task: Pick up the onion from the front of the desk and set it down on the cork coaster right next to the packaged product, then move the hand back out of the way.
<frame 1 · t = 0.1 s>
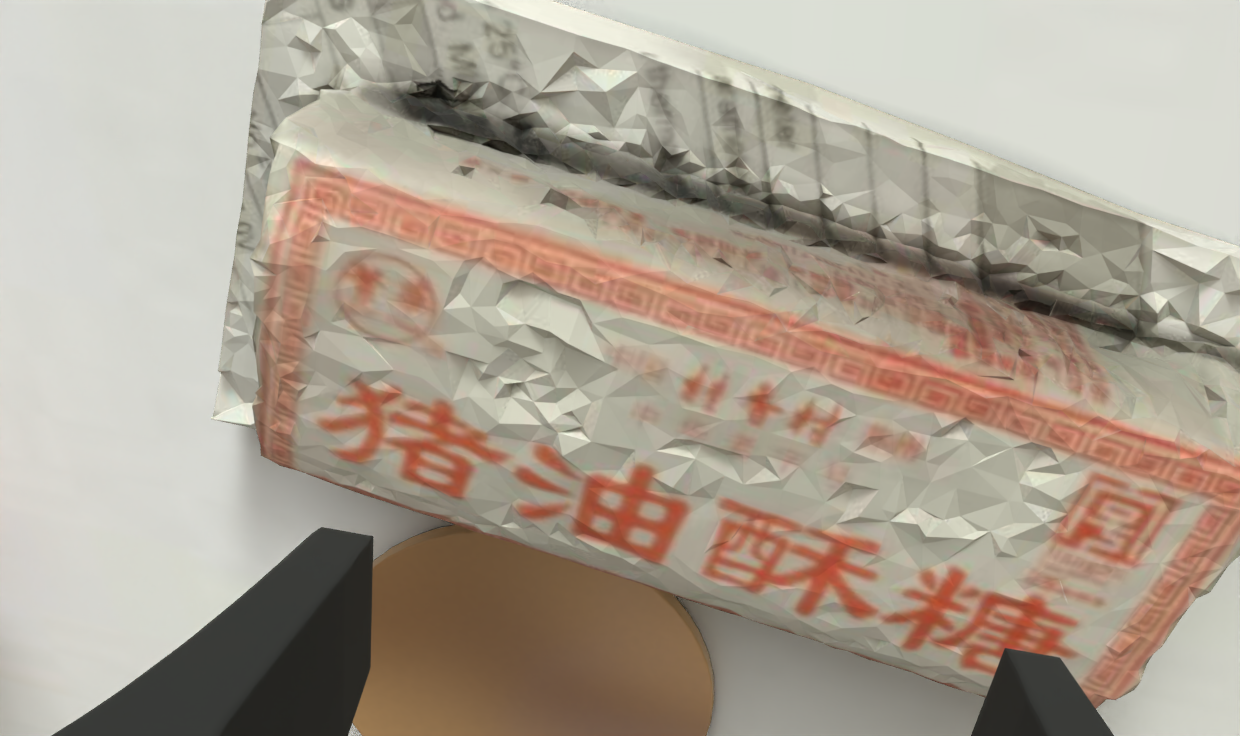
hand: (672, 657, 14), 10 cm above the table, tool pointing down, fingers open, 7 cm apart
coaster: (522, 675, 28), on the table
packaged product: (717, 318, 23), on the table
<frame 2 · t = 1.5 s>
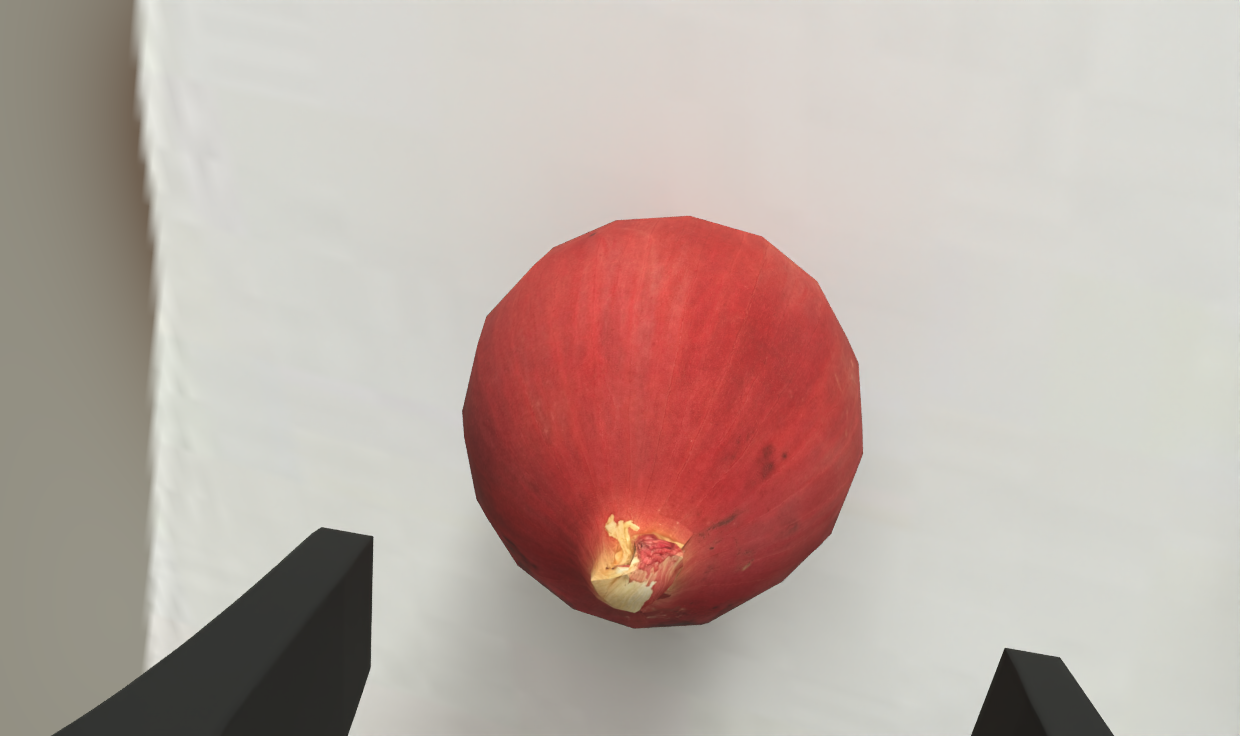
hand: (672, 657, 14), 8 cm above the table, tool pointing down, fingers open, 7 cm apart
onion: (683, 300, 21), on the table
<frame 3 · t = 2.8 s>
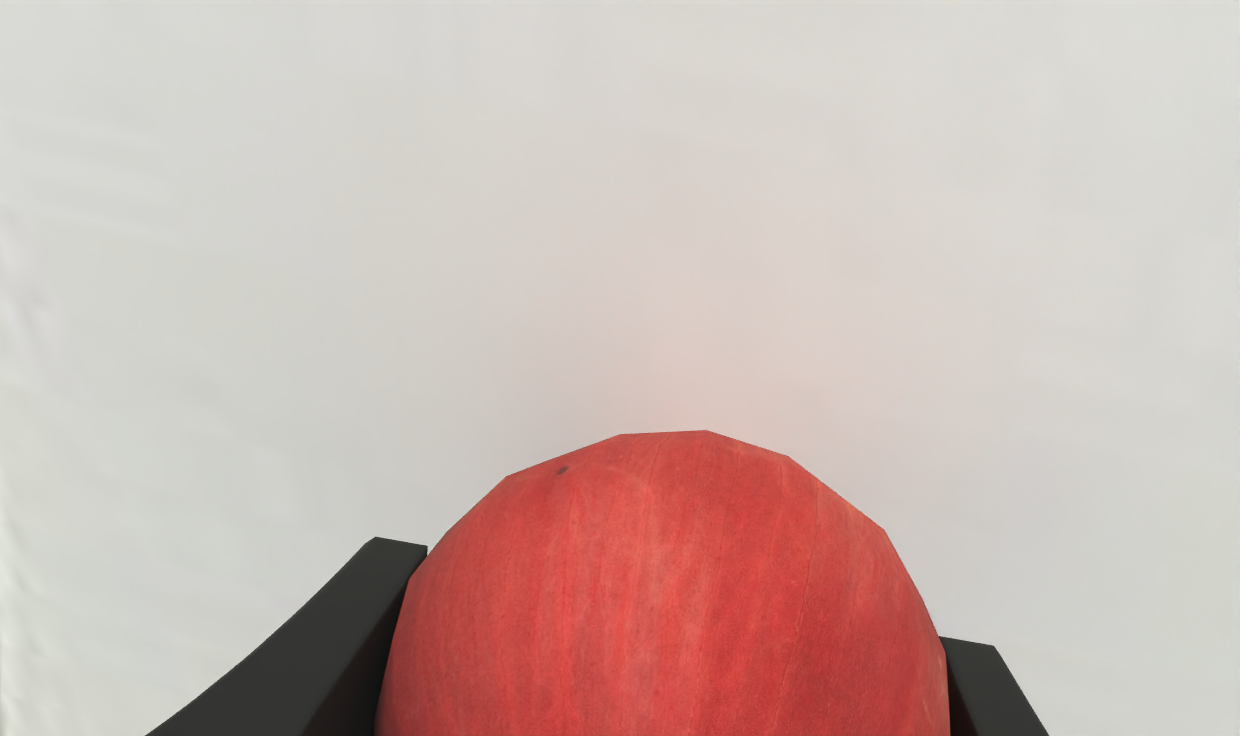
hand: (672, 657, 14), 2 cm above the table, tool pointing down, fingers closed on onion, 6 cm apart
onion: (684, 494, 16), on the table, touching gripper
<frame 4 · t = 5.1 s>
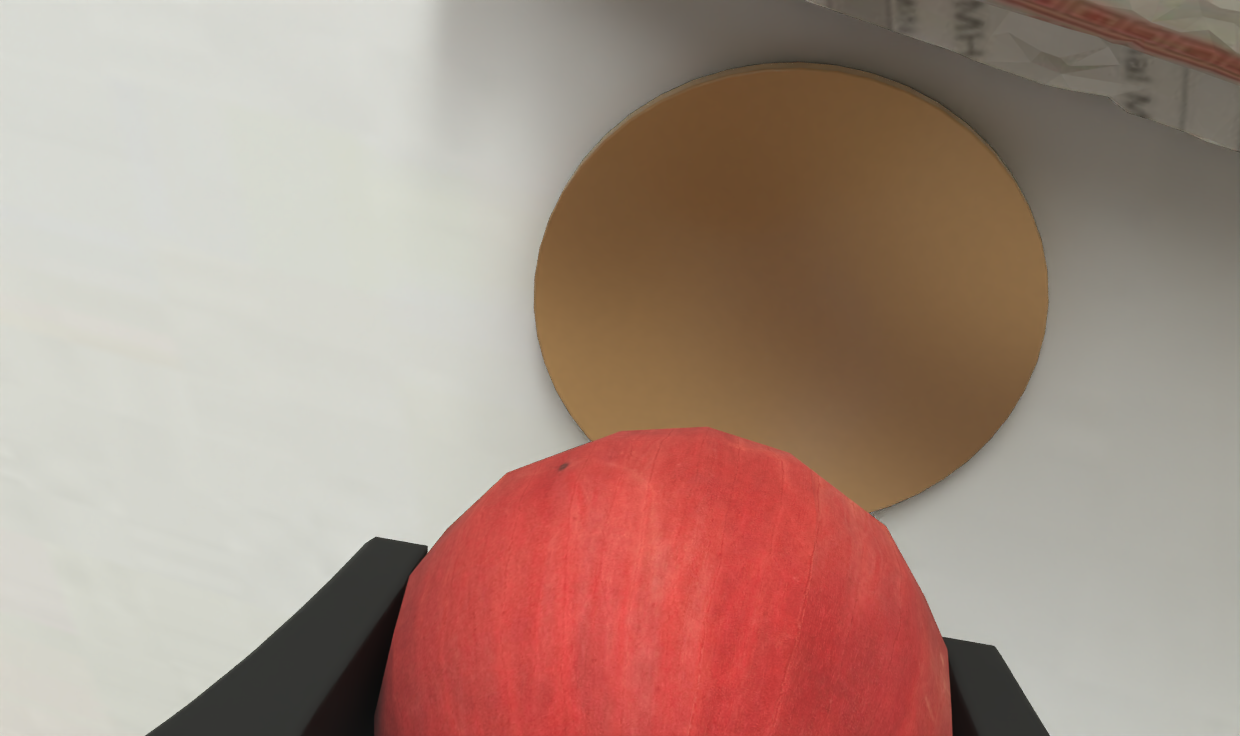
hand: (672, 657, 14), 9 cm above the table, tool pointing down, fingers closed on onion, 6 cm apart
coaster: (783, 310, 21), on the table
onion: (685, 492, 16), point 7 cm above the table, touching gripper
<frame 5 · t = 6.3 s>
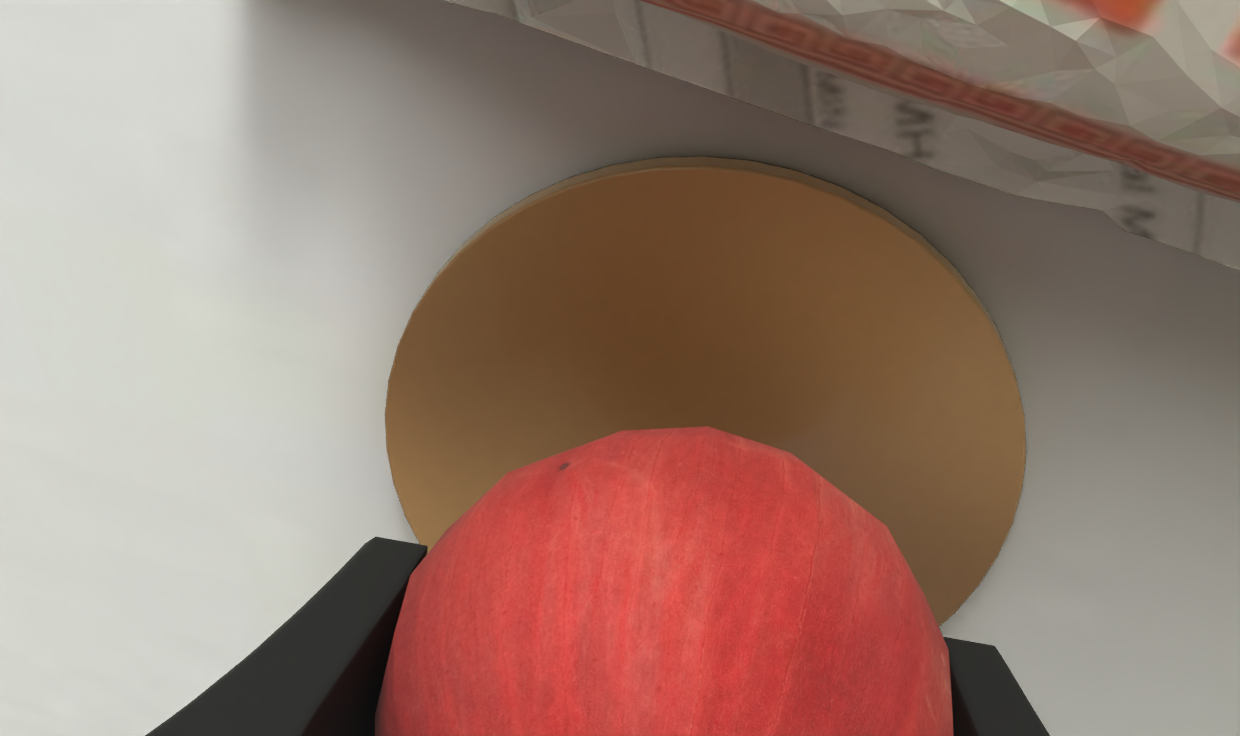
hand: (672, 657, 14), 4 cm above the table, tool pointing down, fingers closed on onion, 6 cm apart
coaster: (696, 454, 17), on the table
onion: (685, 492, 16), point 2 cm above the table, touching gripper
when the fingers open (3 cm above the table, at t = 7.3 s): onion stays where it is, resting on coaster.
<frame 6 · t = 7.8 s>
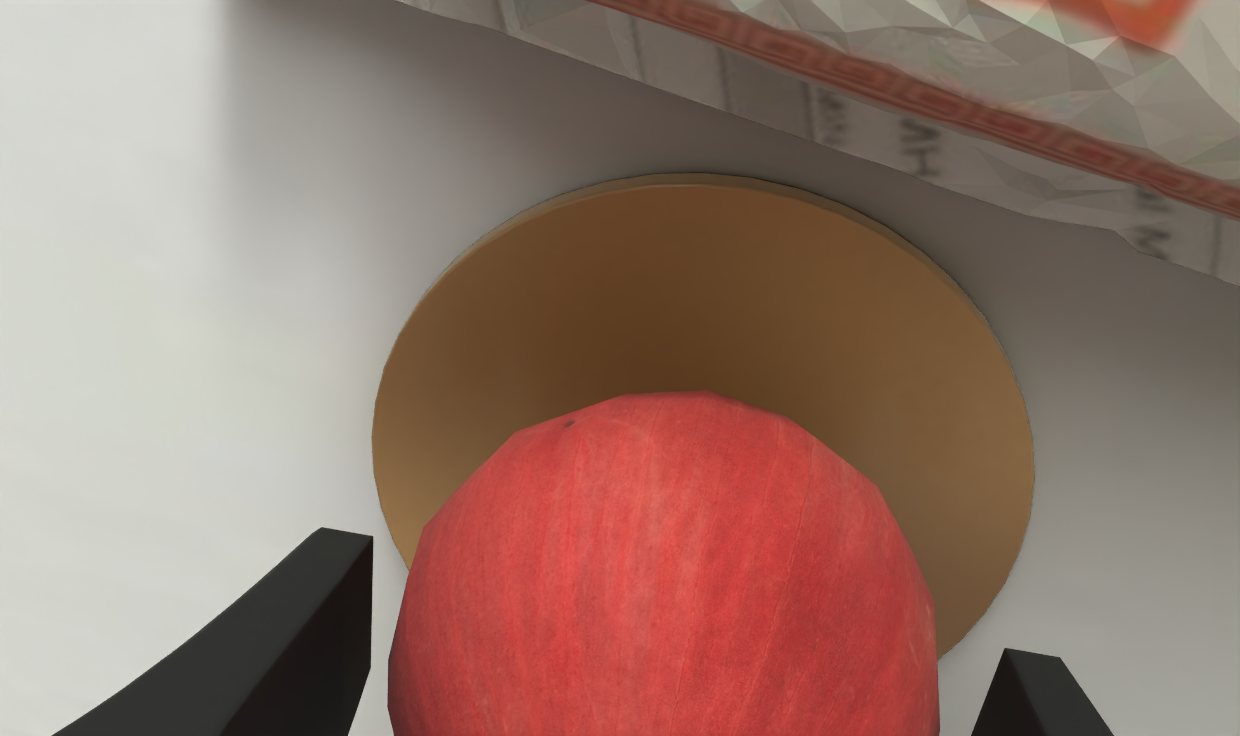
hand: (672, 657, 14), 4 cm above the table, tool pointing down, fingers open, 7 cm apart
coaster: (693, 478, 17), on the table
onion: (689, 461, 16), resting on coaster
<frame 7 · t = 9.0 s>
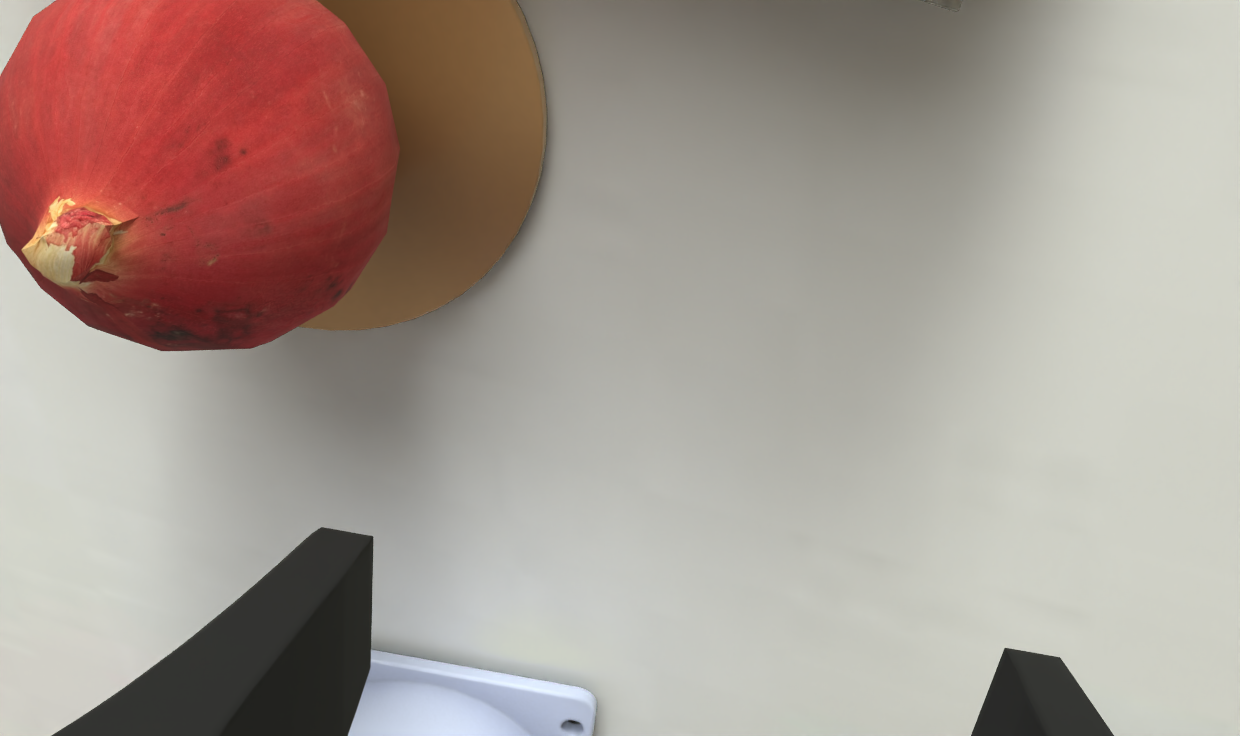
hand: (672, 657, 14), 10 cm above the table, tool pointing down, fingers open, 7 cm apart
coaster: (306, 104, 22), on the table
onion: (296, 85, 22), resting on coaster
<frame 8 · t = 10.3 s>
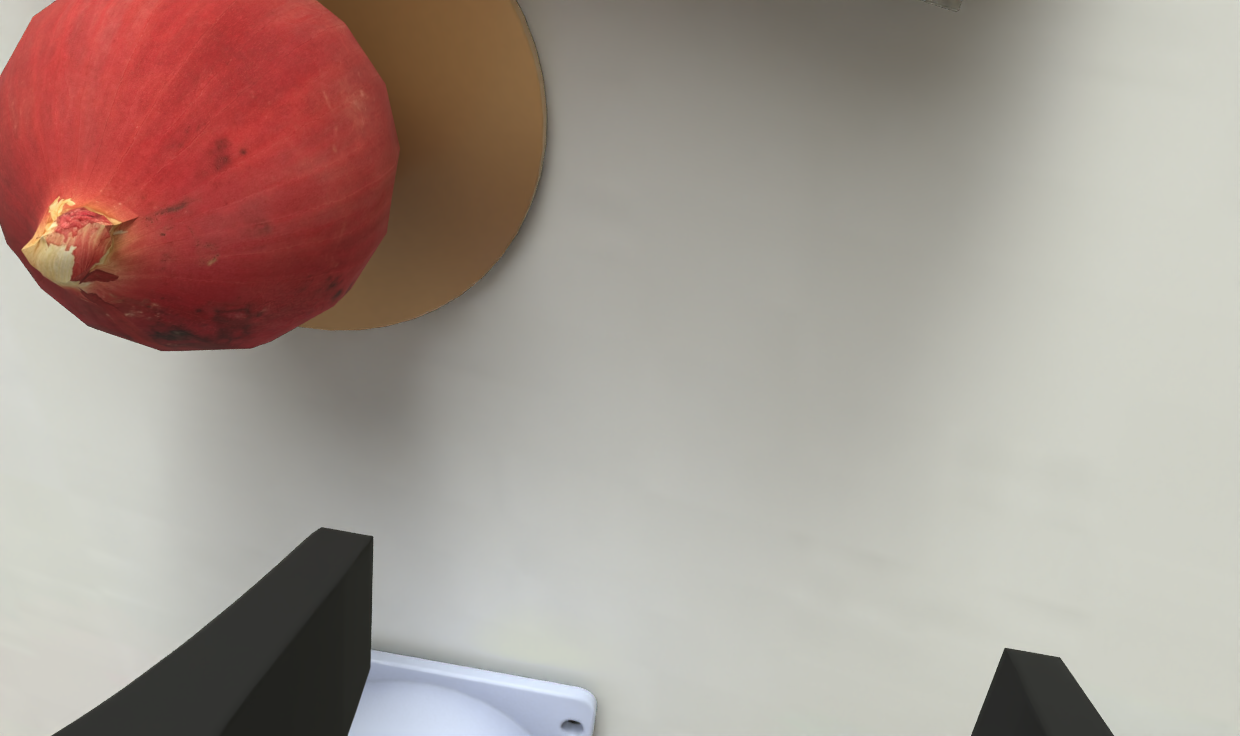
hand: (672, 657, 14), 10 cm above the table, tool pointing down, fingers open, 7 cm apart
coaster: (306, 104, 22), on the table
onion: (296, 85, 22), resting on coaster
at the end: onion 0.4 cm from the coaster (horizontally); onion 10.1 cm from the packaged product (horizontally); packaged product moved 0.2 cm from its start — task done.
